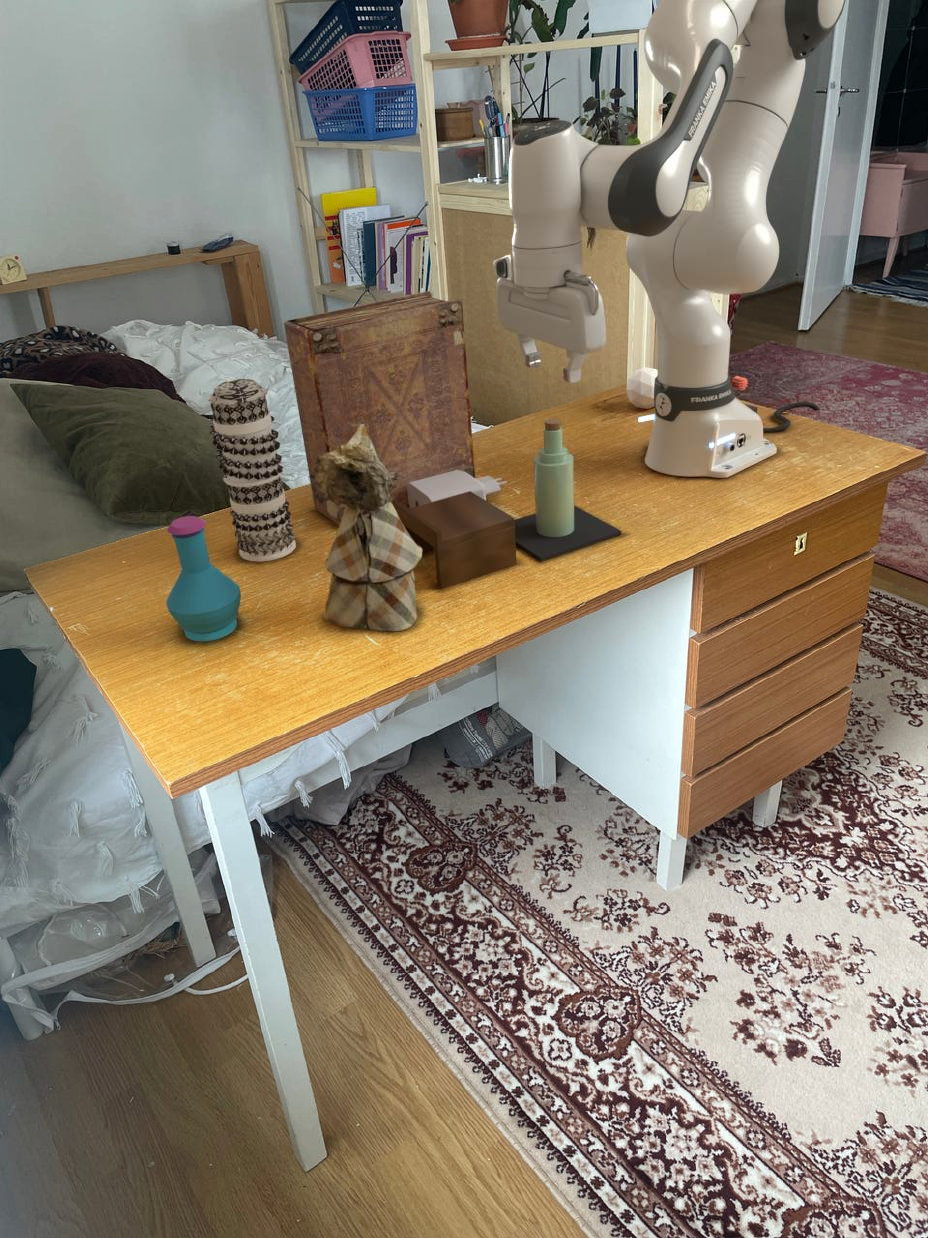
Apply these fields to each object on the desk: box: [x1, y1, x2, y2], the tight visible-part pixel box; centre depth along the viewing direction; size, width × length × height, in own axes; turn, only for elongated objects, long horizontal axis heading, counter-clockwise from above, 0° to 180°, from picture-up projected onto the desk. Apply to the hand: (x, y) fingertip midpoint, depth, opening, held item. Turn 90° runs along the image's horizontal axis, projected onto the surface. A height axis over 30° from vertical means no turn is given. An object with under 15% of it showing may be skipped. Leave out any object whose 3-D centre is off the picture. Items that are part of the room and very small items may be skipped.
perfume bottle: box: [165, 515, 242, 642], centre depth 118 cm, size 9×9×15 cm
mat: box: [514, 505, 622, 562], centre depth 138 cm, size 14×13×1 cm
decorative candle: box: [207, 378, 297, 563], centre depth 134 cm, size 9×9×25 cm
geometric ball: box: [625, 366, 658, 410], centre depth 182 cm, size 8×8×8 cm
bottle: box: [533, 418, 575, 537], centre depth 134 cm, size 6×6×16 cm
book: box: [283, 290, 476, 526], centre depth 146 cm, size 25×9×30 cm, turn 123°
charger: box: [407, 470, 508, 508], centre depth 148 cm, size 5×9×15 cm
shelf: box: [395, 491, 518, 590], centre depth 131 cm, size 12×12×8 cm
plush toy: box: [308, 424, 423, 632], centre depth 116 cm, size 14×14×25 cm
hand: (551, 373), depth 127 cm, fingers open, 8 cm apart
